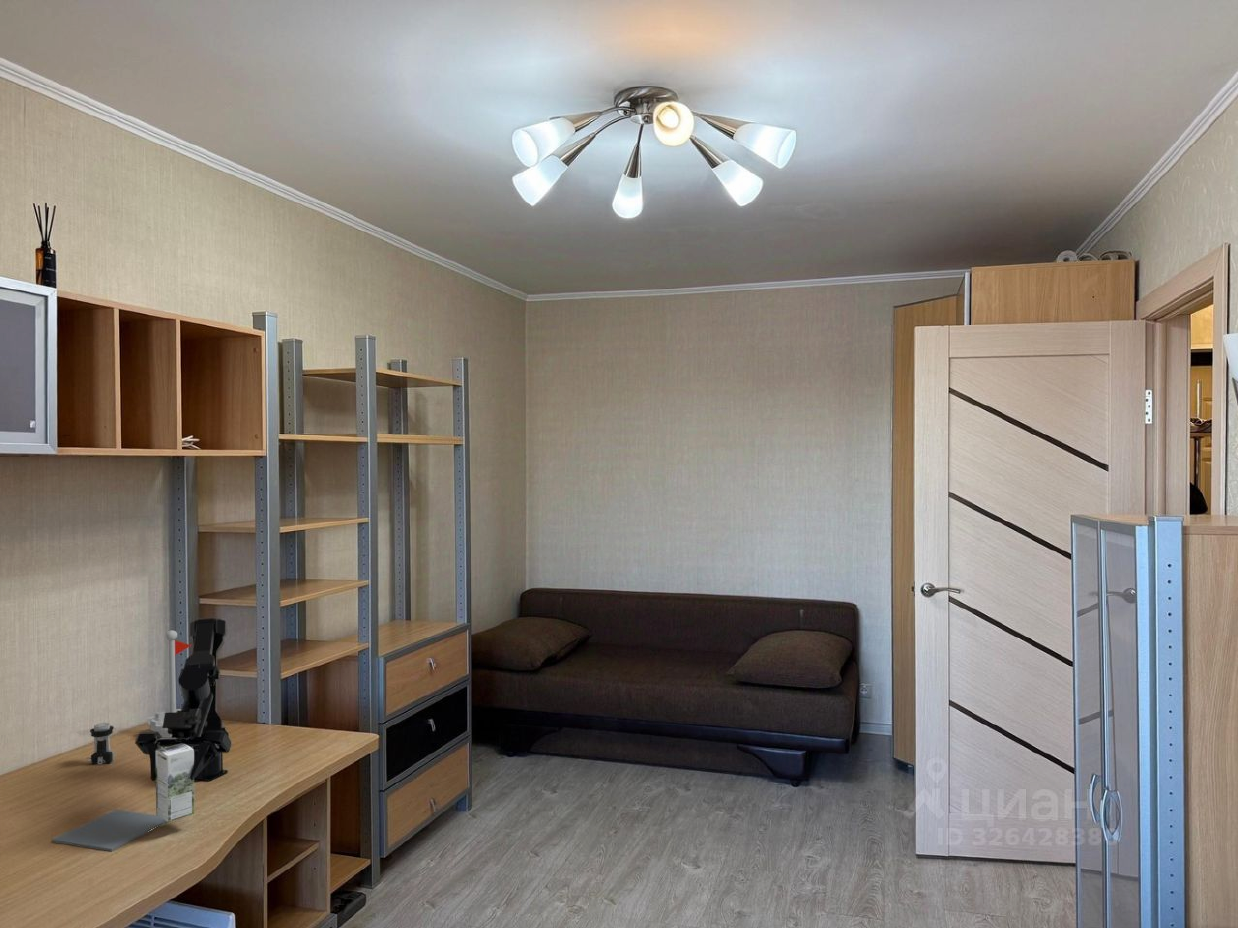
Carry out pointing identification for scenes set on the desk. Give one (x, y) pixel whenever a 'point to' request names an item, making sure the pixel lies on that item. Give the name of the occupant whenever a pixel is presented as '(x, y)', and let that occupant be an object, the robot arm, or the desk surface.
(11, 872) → the desk surface
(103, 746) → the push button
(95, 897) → the desk surface
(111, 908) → the desk surface
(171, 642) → the flag stand
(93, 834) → the slate mat
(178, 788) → the syrup box
